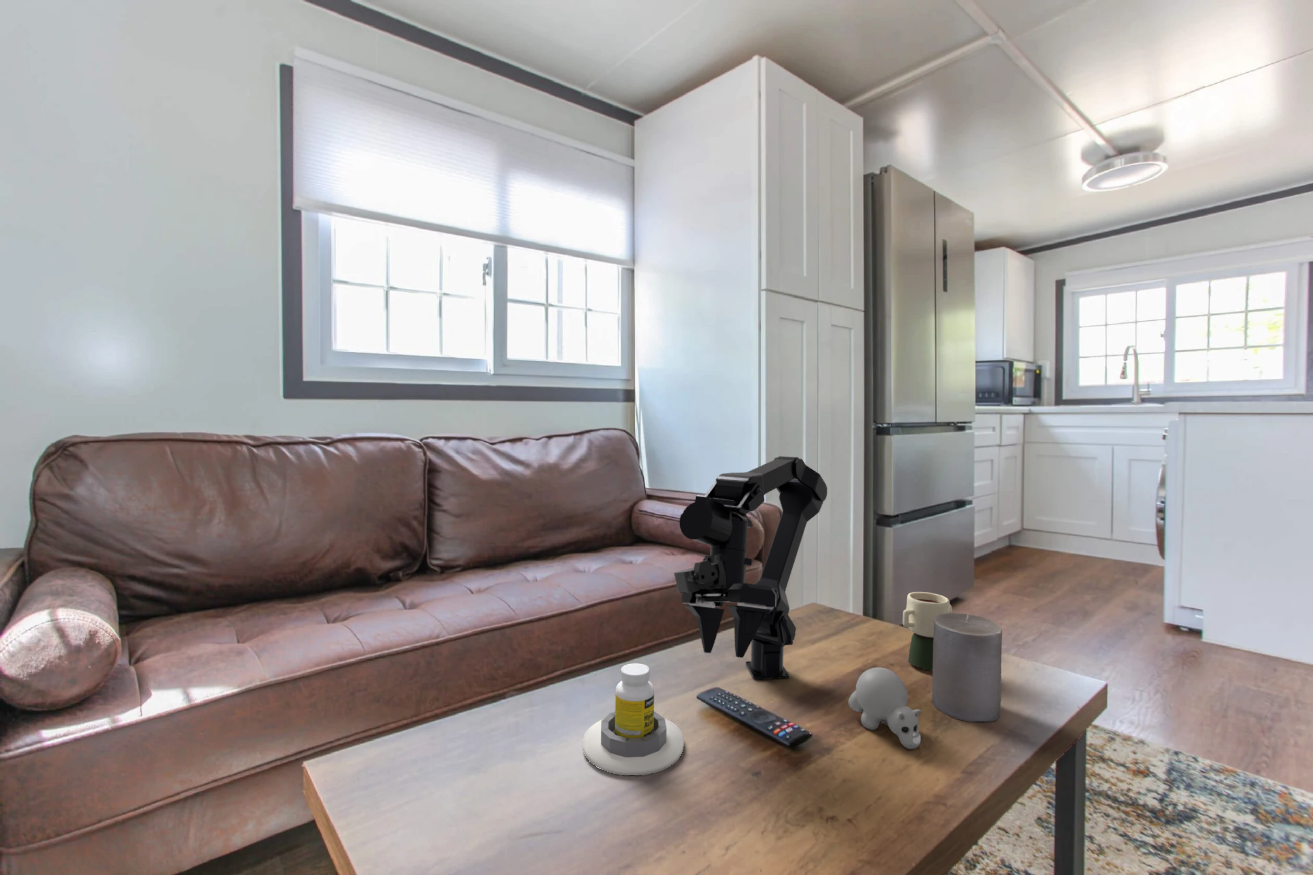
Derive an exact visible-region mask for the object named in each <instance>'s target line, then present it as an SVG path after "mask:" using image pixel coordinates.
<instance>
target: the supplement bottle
mask: <svg viewBox="0 0 1313 875" xmlns="http://www.w3.org/2000/svg"><path fill="white" fill-rule="evenodd" d="M650 675H651V674H650V668H649V666H648V665H646V664H643V663H635V662H634V663H628V664H625V665H623V666H621V669H620V681H619V682H618V684H617V685H616V687H615V699H614V700H615V701H614V702H615V703H614V704H615V705H614V706H615V707H614V709H615V710H614V712H615V735H617V736H621V737H624V738H643V737H645V736H648V735H651V734H653V730H654V712H655V687H654V685H653V683H652V681H650V677H651V676H650Z"/></svg>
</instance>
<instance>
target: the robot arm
mask: <svg viewBox="0 0 1313 875" xmlns="http://www.w3.org/2000/svg"><path fill="white" fill-rule="evenodd" d="M775 489H776V491H778V493H779V495H778V499H779V504H780V506H781V509H782V513H781V516H780V519H779V521H778V525H777V527H776V531H775V534H774V537H773V539H772V543H771V546H770V549H769V551H768V554H767V555H768V556H767V557H766V559H765V563H764V566H763V570H762V572H761V575H760V579H759V580H757V581H756V582H755V583H747V582H746V572H747V571H746V570H747V566H748V567H751V566H752V562H753V559H752V558H749V557H748V558H747V554H748V553H747V552H748V551H747V549H748V548H747V547H748V531H749V530H748V529H749V528H753V526H754V525H753V522H752V520H751V519H750V518H749V517H748V515H747V514H748V513H750V512H751V513H752V512H754V511H756V510H757V509H758V508H759V507H760V506H761V505H762V504H763V503H765V495H766V494H768V493H770V492H773V491H774V490H775ZM827 497H828V486H827V484H826V482H825V480H824V479H823V477H822V476H821V474H820V473H818V472H817V471H816V470H814V469H813V468H811V467H810V466H809V465H806V463H805V462H804V459H802V458H800V457H799V456H780V455H779V456H778V457H775V458H773V460H770V461H769V462H766V463H764V464H762V465H760V466H758V467H755V468H754V469H753V468H752V469H751V470H749V471H746V472H724V473H721V474H719V475H717V477H716V479H715V481H714V482H713V484H712V485H711V486H710V487H709V489H708V491H707V492H706V493H705V494H704V495H700V494H697V495H696V496H695V499H694V502H692V503H690V504H689V505H687V506H686V507H685V508H684V510H683V511H682V513H681V514H680V517H679V529H680V532H681V533H682V535H683V536H684V537H685V538H687V539H689V540H692V541H695V542H698V543H700V544H704V545H707V546H710V552H709V554H710V555H705V556H704V557H703V559H702V561H699V562H698V561H697V562H695V563H694V566H693V567H691V568H688V569H684V570H683V569H682V570H680V571H676V572H674V573H673V575H674V578H675V584H676V588H677V593H678V594H681V604H686V605H685V608H686V609H687V610H689V612H691V613H692V615H694V617H695V619H696V623H697V626H698V632H699V636H700V641H701V644H702V648H703V653H706V654H710V653H712V651H713V647H714V646H715V642H716V639H717V636H718V633H719V629H720V626H721V622H722V619H723V616H724V613H725V609H724V608H722V606H723V605H724V603H733V605H732V604H731V605H727V604H726V608H727V610H728V611H729V613H730V614H731V615H732V616H731V617H733V627H734V628H733V629H734V631H733V632H734V633H733V634H734V653H735V657H736V658H740V659H742V658H744V657H745V655H746V653H747V651H748V649H749V647H750V660H749V661H745V666H746V668H747V670H748V672H749V674H750V675H751V677H752V679H754V680H771V679H776V680H777V679H790V674H789V672H788V671H787V669H786V668H785V666H784V647H785V646H793V645H794V640H795V636H796V630H797V626H796V625H795V624H794V621H792V619H791V617H790V616H789V612H790V604H789V601H788V597H787V593H786V590H787V587H788V584H789V580H790V578H791V575H792V571H793V567H794V565H795V561H796V558H797V556H798V555H797V554H798V552H799V548H800V545H801V542H802V539H803V536H804V533H805V530H806V526H807V524H808V522H809V521H810V520H811V519H812V518H814V517H815V516H817V515H818V514H819V513H820V510H821V509H822V506H823V504H824V502H825V501H826V499H827ZM734 604H736V605H734Z"/></svg>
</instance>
